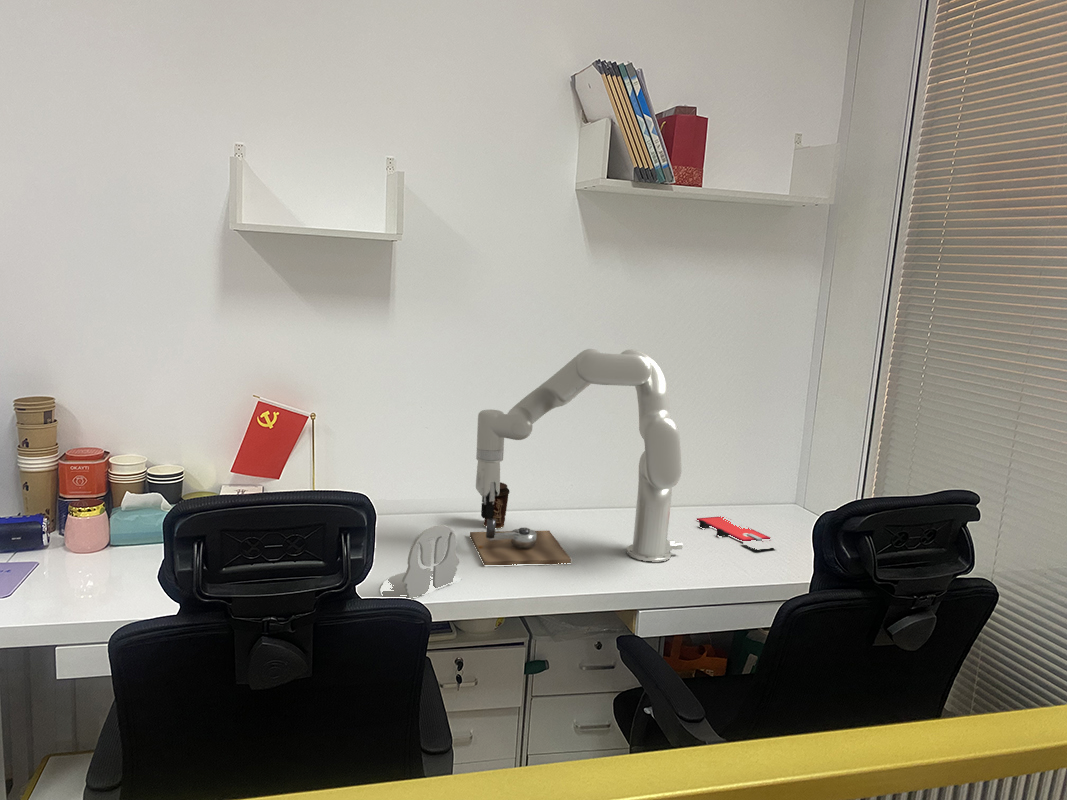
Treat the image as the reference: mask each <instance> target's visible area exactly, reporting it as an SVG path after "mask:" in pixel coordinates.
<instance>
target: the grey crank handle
mask: <svg viewBox="0 0 1067 800" xmlns="http://www.w3.org/2000/svg"><path fill="white" fill-rule="evenodd" d="M495 526H496V519H494V518H488V519H487V528H486V531H485V532H486V537H487V538H488V539H489V540H490V541H491V540H504V539H511V543H512V544H513V545H515V546H518V547H533V546H535V545H536V535H537V533H536V532H535V531H536V530H533V529H530V528H528V527H519V528H516V529H513V530H511V531H512V532H502V533H495V531H496V529H495Z"/></svg>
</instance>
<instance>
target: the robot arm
mask: <svg viewBox="0 0 1067 800" xmlns="http://www.w3.org/2000/svg"><path fill="white" fill-rule="evenodd" d="M590 385H597V386H598V385H600V386H618V387H619V386H622V387H623V386H625V387H627V386H628V387H635V390H636V399H637V404H638V430H639V431H638V432H639V434H640V436H641V438H642V439H643V444H644V452H642V454H641V456H640V458H639V461H638V462H639V463H638V485H637V499H636V508H635V518H634V527H633V538H632V544H630V545H628V546H627V547H626V553H628V554H627V555H628V556H629V555H630V558H633V559H635V560H638V561H641V560H643V561H642V562H646V561H652V562H651V563H660V562H659V561H664V562H667V561H668V559H669V560H670V559H671V558H670V557H672V553H671V551H672V550H682V549H683V543H682V542H675V541H674V540H668V534H669V525H670V514H671V505H672V496H673V493H672V492H673V487H675V486H676V485H677V484H678V483H679V481H680V479H681V474H682V454H681V453H682V451H681V441H680V440H681V437H680V431H679V428H678V426H677V423H676V421H674V420H673V418H672V415H671V411H670V400H669V399H670V398H669V390H668V384H667V380H666V377H665V375H664V372H663V371H662V369H661V367H660V366H659V365H658V364H657V362H656V361H655V359H653V358H651V356H649V355H647V354H646V353H645V352H642V351H640V350H637V349H625V350H623V351H622V352H621V353H606V352H604V353H603V352H600V351H598V350H597V349H593V348H587V349H584V350H582V351H580V353H578V354H577V355H575V357H573V358H572V359H571V360H570V361H568V362H567V363H566V364H565V365H564V366H563V367H562V368H560V369H559V370H558V371H557V372H556V373H554V374H553V375H552V376H551V377H550V378H548V379H546V381H544V382H543V383H541V384H540V385H539V386H538V387H536V388H535V389H533V390H532V391H531V392H530V393H528V394H527V395H525V397H523V398H522V399H521V400H520V401H519V402H518V403H516V404H515V405H514V406H513V407H511V409H509V410H508V412H507V413H504V412H503V411H501V410H499V409H483V410H480V412H478V414H477V433H476V437H477V438H476V456H475V457H476V458H475V459H476V460H477V466H476V474H475V475H476V478H475V479H476V480H475V489H476V491H477V492H478V494H479V495H480V496H481V512H480V514H481V516H480V517H481V518H482V519H485V518H493V516H494V502H495V496H498V495H499V491H500V482H501V462H502V461H504V453H505V452H504V451H505V450H504V448H505V439H509V440H513V441H514V440H515V441H522V440H526V439H528V437H530V435H531V434H532V432H533V424H535V423H536V422H537V421H538V420H540V418H542V417H543V416H544V415H546V414H547V413H548V412H550V411H551V410H553V409H556V408H559V407H563V406H565V405H567V404H568V403H570V402H571V401H572V400H573V399H575V398H576V397H577V396H578V395H579V394H581V392H583V391H584V390H586V389H587V388H588V387H589V386H590ZM666 560H667V561H666Z"/></svg>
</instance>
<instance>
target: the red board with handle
mask: <svg viewBox="0 0 1067 800" xmlns="http://www.w3.org/2000/svg"><path fill="white" fill-rule="evenodd" d="M721 516H722V515H721ZM721 516H720V517H719V516H707V517H698V518H697V517H696V519H697V520H699V521H700V522H699V526H700V527H702V528H705V529H706V528H708V527H709V526H712V527H714V528H716V529H717V531H716V536H717V535H719V536H723V537H724V535H731V536H733V537H735V538H737V539H739V540H742V541H751V540H756V541H762V539H770V538H771V539H772V537H770V536H768V535H766V534H764V533H761V532H760V531H757V530H755V529H752V528H750V527H748V529H745V528H743V529H742V528H741V527H740V526H739V527H740V528H741V529H740V528H739V527H737V526H736V525H735V526H734V525H733V524H731V522H730V521H728V520H726V519H724V520H723V518H724V517H725V516H724V517H722V518H721ZM725 520H726V521H725ZM727 521H728V522H727ZM729 522H730V523H729ZM699 526H698V527H699ZM749 528H750V529H751V530H750V529H749ZM762 542H763V541H762ZM749 549H751V550H753V551H756V550H757V549H756V550H754V549H755V548H754V549H752V548H751V547H750V548H749ZM758 551H759V552H760V550H758ZM756 552H757V551H756Z"/></svg>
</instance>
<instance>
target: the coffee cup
mask: <svg viewBox="0 0 1067 800" xmlns="http://www.w3.org/2000/svg"><path fill="white" fill-rule="evenodd" d="M510 493H511V492H510V489H509V488H508V485H507V484H506V483H504V482H501V481H500V491H499V495H498V496H495V502H494V516H493V518H494V519H496V526H495V528H501V527H503V528H504V526H505V522H506V516H507V508H508V502H509V494H510ZM483 519H484V521H483V523H482V524H484V525H485V526H487V519H488V518H483ZM484 525H483V526H484ZM485 526H484V527H485ZM501 529H502V528H501Z"/></svg>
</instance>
